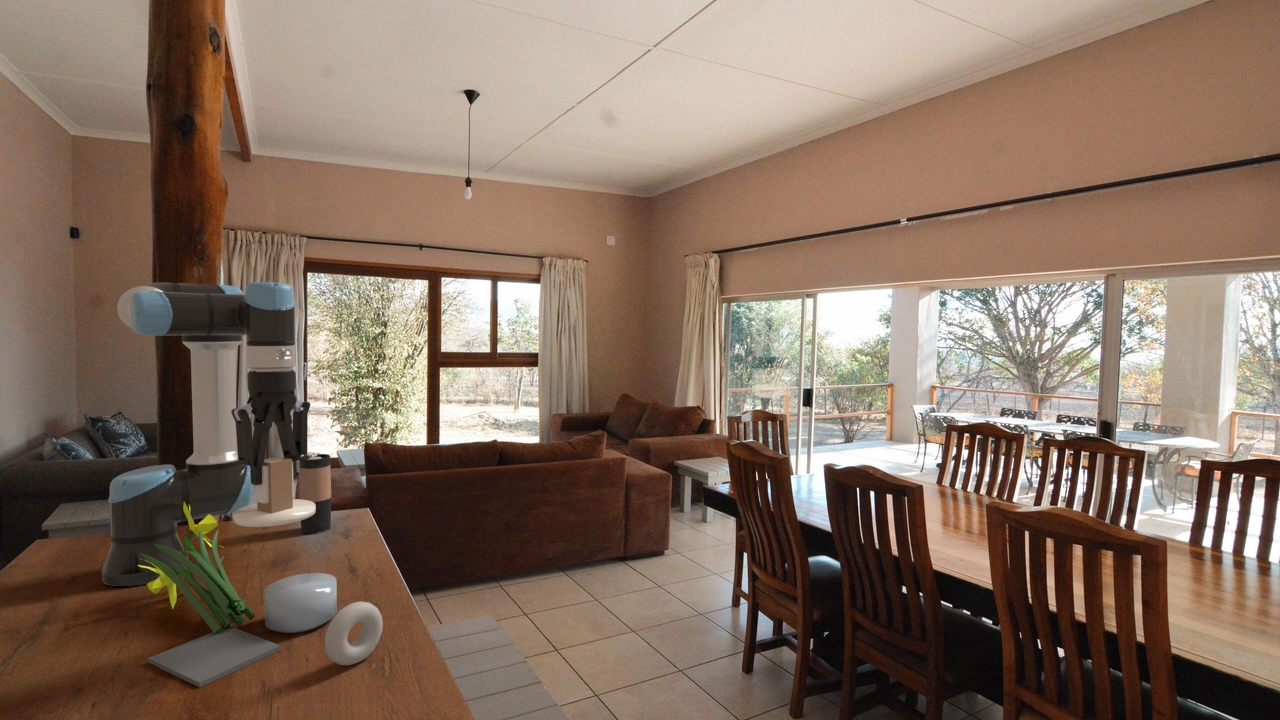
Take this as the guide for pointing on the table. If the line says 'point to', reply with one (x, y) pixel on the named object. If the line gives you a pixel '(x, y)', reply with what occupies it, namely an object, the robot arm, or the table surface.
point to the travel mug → (316, 491)
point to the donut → (342, 625)
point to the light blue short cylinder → (300, 602)
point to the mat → (213, 655)
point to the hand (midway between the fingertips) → (274, 498)
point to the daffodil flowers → (214, 580)
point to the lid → (276, 500)
